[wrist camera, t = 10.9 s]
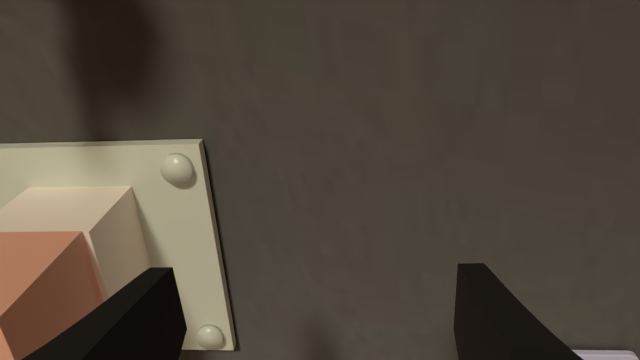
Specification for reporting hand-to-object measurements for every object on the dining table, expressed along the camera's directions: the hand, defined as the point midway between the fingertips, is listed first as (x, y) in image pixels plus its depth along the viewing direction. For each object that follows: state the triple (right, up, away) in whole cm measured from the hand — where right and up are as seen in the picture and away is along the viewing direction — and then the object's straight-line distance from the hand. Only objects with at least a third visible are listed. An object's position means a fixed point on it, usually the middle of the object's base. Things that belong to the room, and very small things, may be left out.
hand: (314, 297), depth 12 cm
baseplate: (-11, -1, +13) cm, 17 cm away
